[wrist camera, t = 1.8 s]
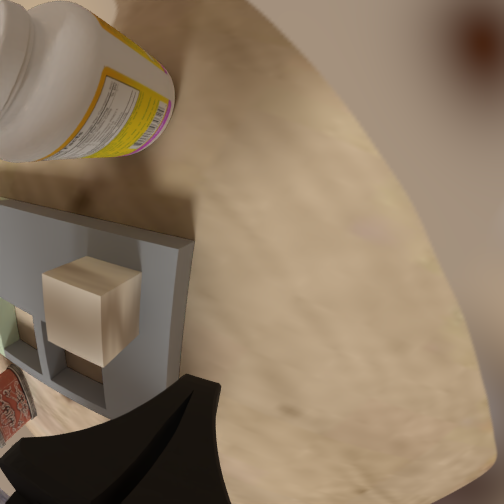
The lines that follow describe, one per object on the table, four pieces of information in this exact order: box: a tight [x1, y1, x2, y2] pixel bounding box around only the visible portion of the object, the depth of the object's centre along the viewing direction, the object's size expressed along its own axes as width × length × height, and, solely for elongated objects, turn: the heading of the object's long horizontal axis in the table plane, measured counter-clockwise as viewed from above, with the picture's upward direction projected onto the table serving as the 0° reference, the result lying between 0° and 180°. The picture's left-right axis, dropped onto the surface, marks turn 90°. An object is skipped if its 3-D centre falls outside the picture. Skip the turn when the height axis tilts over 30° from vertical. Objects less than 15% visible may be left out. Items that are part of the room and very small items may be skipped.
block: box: [42, 256, 142, 368], centre depth 15 cm, size 4×4×4 cm
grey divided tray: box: [0, 197, 195, 420], centre depth 19 cm, size 15×22×4 cm
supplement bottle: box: [0, 0, 175, 163], centre depth 10 cm, size 7×7×13 cm
